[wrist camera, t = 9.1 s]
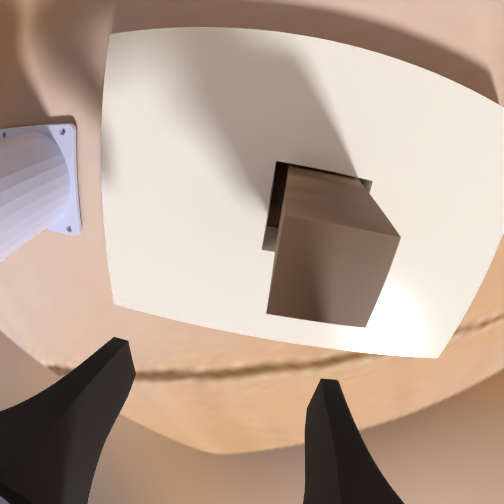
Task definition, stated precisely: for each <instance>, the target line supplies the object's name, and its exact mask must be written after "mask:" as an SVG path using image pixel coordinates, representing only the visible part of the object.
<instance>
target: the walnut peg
mask: <svg viewBox="0 0 504 504" xmlns="http://www.w3.org/2000/svg"><path fill="white" fill-rule="evenodd" d="M400 239H401V236H400V235H399V234H398V232H397V231H396V229H395V228H394V226H393V225H392V224H391V222H390V221H389V219H388V218H387V217H386V215H385V214H384V212H383V211H382V210H381V208H380V207H379V206H378V204H377V203H376V202H375V200H374V199H373V198H372V196H371V195H370V194H369V192H368V191H367V190H366V188H365V187H364V186H363V185H362V183H361V182H360V181H359V180H358V178H357V177H354V176H349V175H345V174H341V173H336V172H331V171H326V170H322V169H317V168H312V167H307V166H301V165H296V164H290V163H288V169H287V175H286V181H285V187H284V193H283V200H282V206H281V212H280V219H279V227H278V234H277V242H276V249H275V256H274V263H273V270H272V277H271V284H270V291H269V298H268V304H267V311H266V314H270V315H276V316H282V317H289V318H295V319H302V320H308V321H315V322H322V323H329V324H337V325H344V326H352V327H360V328H366V326H367V324H368V322H369V319H370V317H371V315H372V312H373V310H374V308H375V305H376V303H377V301H378V298H379V296H380V293H381V291H382V288H383V286H384V283H385V281H386V278H387V275H388V273H389V270H390V267H391V265H392V262H393V259H394V256H395V253H396V251H397V248H398V245H399V242H400Z"/></svg>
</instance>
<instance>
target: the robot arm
mask: <svg viewBox="0 0 504 504" xmlns="http://www.w3.org/2000/svg"><path fill="white" fill-rule="evenodd" d="M63 129H65V134H64V132H63ZM70 227H71V228H70ZM45 229H46V230H50V231H55V232H60V233H64V234H69V235H74V236H77V235H79V234H80V233H81V231H82V227H81V218H80V207H79V196H78V180H77V155H76V126H75V125H74V124H73V123H61V124H45V125H33V126H23V127H14V128H5V129H0V263H1V262H2V261H3V260H4V259H6V258H7V257H8V256H9V255H11V254H12V253H13V252H15V251H16V250H17V249H19V248H20V247H21V246H23V245H24V244H25V243H27V242H28V241H30V240H31V239H32V238H34V237H35V236H37V235H38V234H39V233H41V232H42V231H44V230H45ZM135 375H136V373H135V369H134V365H133V360H132V356H131V352H130V348H129V343H128V341H127V340H123V339H120V338H116V337H114V338H112V339H111V340H110V341H108V342H107V343H106V344H105V345H104V346H102V347H101V348H100V349H99V350H98V351H96V352H95V353H94V354H93V355H91V356H90V357H89V358H88V359H87V360H85V361H84V362H83V363H81V364H80V365H79V366H78V367H76V368H75V369H74V370H73V371H71V372H70V373H69V374H67V375H66V376H64V377H63V378H62V379H60V380H59V381H57V382H56V383H55V384H53V385H52V386H50V387H49V388H47V389H45V390H44V391H42V392H40V393H39V394H37V395H35V396H33V397H31V398H29V399H28V400H26V401H24V402H22V403H19V404H17V405H15V406H13V407H10V408H8V409H5V410H3V411H0V504H87V503H88V497H89V493H90V489H91V484H92V480H93V477H94V473H95V470H96V466H97V463H98V460H99V457H100V454H101V451H102V448H103V445H104V443H105V441H106V438H107V436H108V434H109V432H110V430H111V428H112V426H113V424H114V422H115V420H116V418H117V417H118V415H119V413H120V411H121V409H122V407H123V405H124V403H125V401H126V399H127V397H128V394H129V392H130V389H131V386H132V384H133V381H134V378H135ZM303 504H404V503H403V502H402V500H401V499H400V498H399V496H398V495H397V494H396V493H395V491H393V489H392V488H391V486H390V485H389V484H388V482H387V481H386V479H385V478H384V476H383V475H382V473H381V472H380V470H379V468H378V467H377V465H376V464H375V462H374V460H373V459H372V457H371V455H370V453H369V451H368V449H367V448H366V446H365V444H364V442H363V439H362V438H361V435H360V433H359V431H358V429H357V427H356V424H355V422H354V420H353V418H352V415H351V413H350V410H349V408H348V406H347V403H346V400H345V398H344V395H343V392H342V390H341V387H340V384H339V382H338V380H331V379H321V380H320V382H319V384H318V386H317V388H316V390H315V393H314V395H313V397H312V399H311V401H310V403H309V405H308V407H307V414H306V424H305V493H304V501H303Z"/></svg>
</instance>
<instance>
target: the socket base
mask: <svg viewBox="0 0 504 504" xmlns="http://www.w3.org/2000/svg"><path fill="white" fill-rule="evenodd" d="M278 161H279V162H285V163H290V164H296V165H301V166H307V167H312V168H317V169H322V170H326V171H331V172H336V173H341V174H345V175H349V176H354V177H357V178H358V180H359V181H360V182H361V183H362V185H363V186H364V187H365V188H366V190H367V191H368V192H369V194H370V195H371V196H372V198H373V199H374V200H375V202H376V203H377V204H378V206H379V207H380V208H381V210H382V211H383V212H384V214H385V215H386V217H387V218H388V219H389V221H390V222H391V224H392V225H393V226H394V228H395V229H396V231H397V232H398V234H399V235H400V236H401V239H400V242H399V245H398V248H397V251H396V253H395V256H394V259H393V262H392V265H391V267H390V270H389V273H388V275H387V278H386V281H385V283H384V286H383V288H382V291H381V293H380V296H379V298H378V301H377V303H376V305H375V308H374V310H373V312H372V315H371V317H370V319H369V322H368V324H367V326H366V328H360V327H352V326H344V325H337V324H329V323H322V322H315V321H308V320H302V319H295V318H289V317H282V316H276V315H270V314H266V311H267V304H268V298H269V291H270V284H271V277H272V270H273V263H274V256H275V249H276V242H277V234H278V228H276V227H271V226H267V223H268V217H269V211H270V205H271V199H272V193H273V186H274V180H275V174H276V168H277V162H278ZM101 183H102V204H103V219H104V231H105V241H106V250H107V259H108V267H109V274H110V281H111V288H112V294H113V300H114V304H116V305H119V306H123V307H126V308H130V309H134V310H137V311H141V312H145V313H149V314H153V315H157V316H161V317H165V318H169V319H173V320H177V321H181V322H186V323H190V324H195V325H199V326H204V327H208V328H213V329H218V330H223V331H228V332H233V333H238V334H243V335H248V336H254V337H259V338H265V339H270V340H276V341H282V342H289V343H295V344H302V345H308V346H315V347H322V348H330V349H338V350H346V351H355V352H364V353H374V354H384V355H396V356H409V357H424V358H438V357H439V356H440V354H441V353H442V351H443V350H444V348H445V346H446V345H447V343H448V342H449V340H450V339H451V337H452V335H453V334H454V332H455V330H456V329H457V327H458V325H459V324H460V322H461V320H462V319H463V317H464V315H465V313H466V312H467V310H468V308H469V306H470V304H471V302H472V301H473V299H474V297H475V295H476V293H477V291H478V289H479V287H480V285H481V283H482V281H483V279H484V277H485V275H486V273H487V270H488V268H489V266H490V264H491V262H492V259H493V257H494V255H495V252H496V250H497V248H498V245H499V243H500V240H501V238H502V235H503V233H504V107H502V106H500V105H499V104H497V103H495V102H493V101H492V100H490V99H488V98H486V97H484V96H483V95H481V94H479V93H477V92H475V91H473V90H471V89H469V88H467V87H465V86H463V85H461V84H459V83H456V82H454V81H452V80H450V79H448V78H445V77H443V76H441V75H438V74H436V73H434V72H431V71H429V70H426V69H424V68H421V67H419V66H416V65H413V64H410V63H408V62H405V61H402V60H399V59H396V58H393V57H390V56H387V55H384V54H380V53H377V52H374V51H370V50H367V49H363V48H359V47H356V46H352V45H348V44H343V43H339V42H335V41H330V40H325V39H320V38H315V37H310V36H304V35H298V34H291V33H284V32H276V31H267V30H257V29H245V28H228V27H176V28H158V29H146V30H136V31H128V32H120V33H113V34H110V36H109V43H108V50H107V58H106V67H105V77H104V88H103V102H102V122H101Z"/></svg>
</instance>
